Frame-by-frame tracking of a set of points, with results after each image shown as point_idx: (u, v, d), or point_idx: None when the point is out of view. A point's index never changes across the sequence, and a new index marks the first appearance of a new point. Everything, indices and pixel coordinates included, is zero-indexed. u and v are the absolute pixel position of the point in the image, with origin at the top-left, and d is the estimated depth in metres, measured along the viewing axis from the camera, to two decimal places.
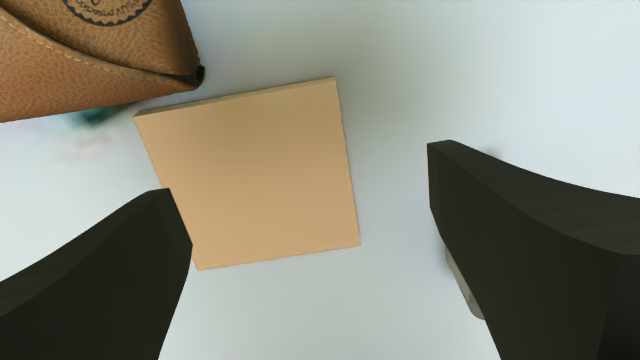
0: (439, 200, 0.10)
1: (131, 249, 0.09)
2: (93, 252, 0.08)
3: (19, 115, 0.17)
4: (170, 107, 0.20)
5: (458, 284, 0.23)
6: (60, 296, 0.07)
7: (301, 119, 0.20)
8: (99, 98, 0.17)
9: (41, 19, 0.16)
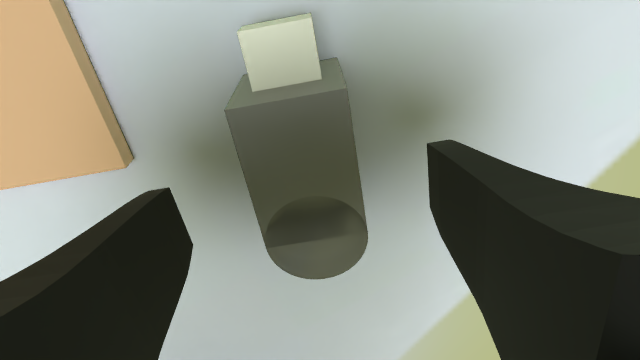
0: (439, 200, 0.10)
1: (131, 249, 0.09)
2: (93, 252, 0.08)
3: None
4: None
5: None
6: (60, 296, 0.07)
7: None
8: None
9: None
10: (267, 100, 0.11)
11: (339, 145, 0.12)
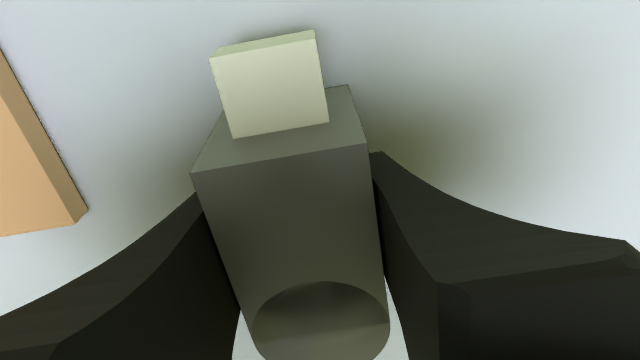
0: None
1: (210, 236, 0.09)
2: (184, 237, 0.07)
3: None
4: None
5: None
6: (164, 280, 0.06)
7: None
8: None
9: None
10: (251, 158, 0.08)
11: (355, 218, 0.08)
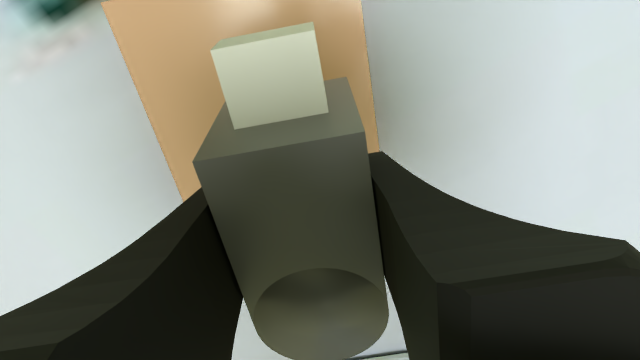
0: None
1: (209, 236, 0.09)
2: (183, 237, 0.07)
3: None
4: None
5: None
6: (164, 280, 0.06)
7: (311, 4, 0.16)
8: None
9: None
10: (252, 147, 0.08)
11: (353, 206, 0.09)
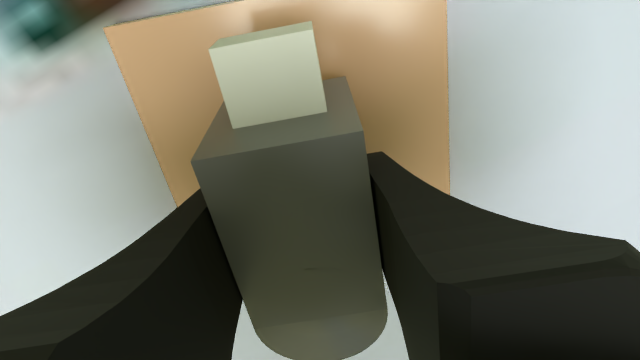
0: None
1: (209, 236, 0.09)
2: (183, 237, 0.07)
3: None
4: (166, 14, 0.12)
5: None
6: (164, 280, 0.06)
7: (382, 33, 0.12)
8: None
9: None
10: (250, 147, 0.08)
11: (352, 206, 0.09)
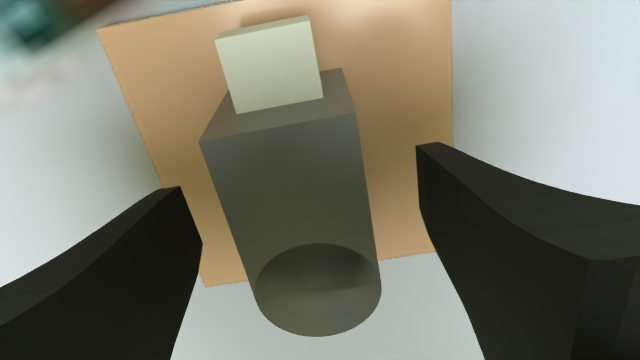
0: (427, 202, 0.10)
1: (144, 247, 0.09)
2: (108, 250, 0.08)
3: None
4: (161, 15, 0.12)
5: None
6: (78, 293, 0.07)
7: (384, 34, 0.12)
8: None
9: None
10: (253, 128, 0.09)
11: (346, 183, 0.09)
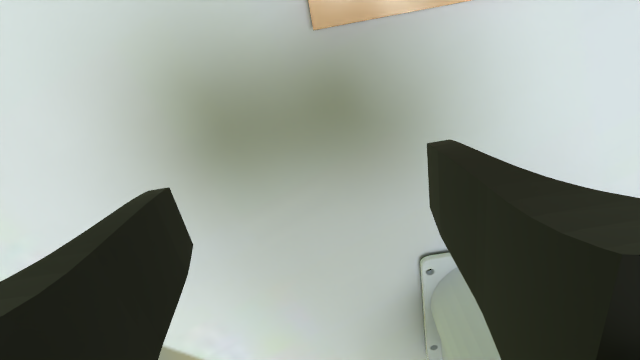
0: (439, 200, 0.10)
1: (131, 249, 0.09)
2: (93, 252, 0.08)
3: None
4: None
5: None
6: (60, 296, 0.07)
7: None
8: None
9: None
10: None
11: None
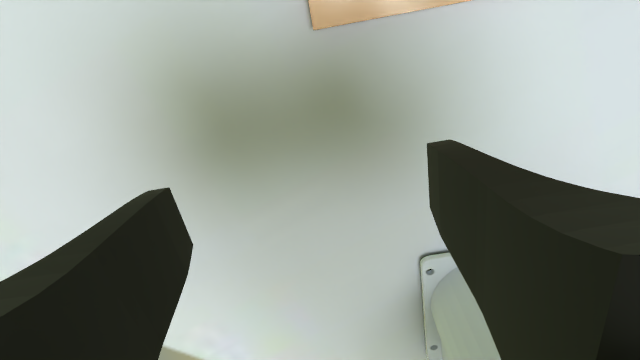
0: (439, 200, 0.10)
1: (131, 249, 0.09)
2: (93, 252, 0.08)
3: None
4: None
5: None
6: (60, 296, 0.07)
7: None
8: None
9: None
10: None
11: None
